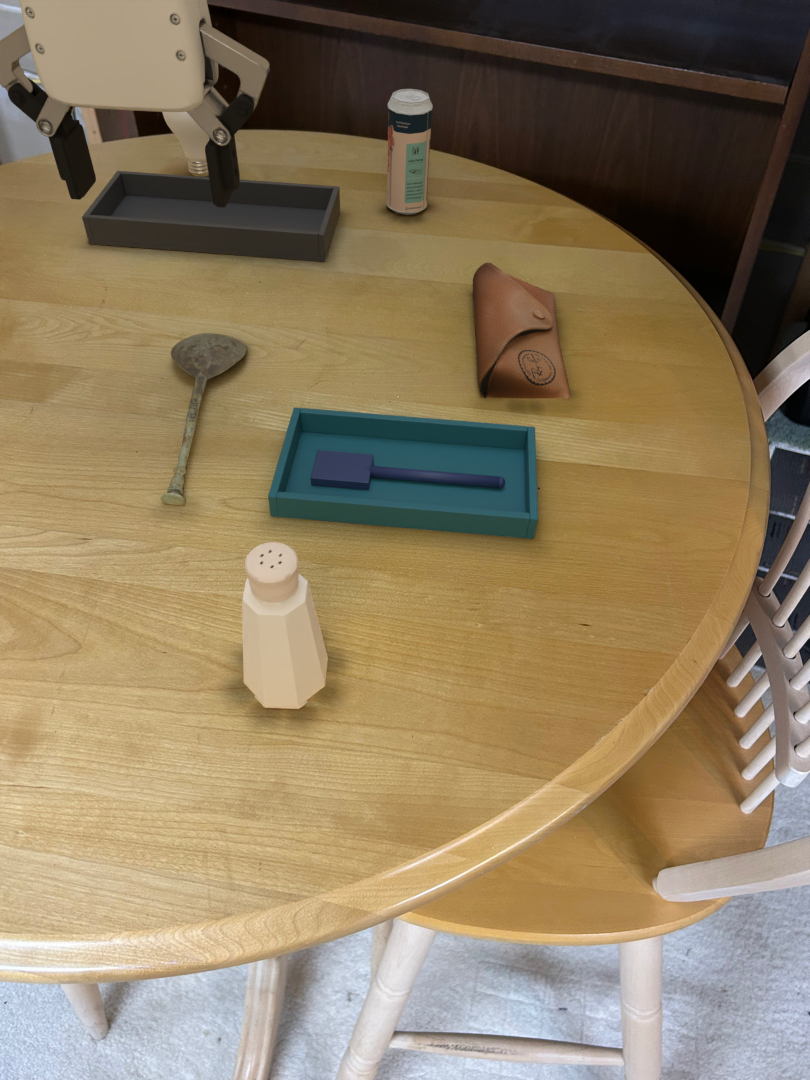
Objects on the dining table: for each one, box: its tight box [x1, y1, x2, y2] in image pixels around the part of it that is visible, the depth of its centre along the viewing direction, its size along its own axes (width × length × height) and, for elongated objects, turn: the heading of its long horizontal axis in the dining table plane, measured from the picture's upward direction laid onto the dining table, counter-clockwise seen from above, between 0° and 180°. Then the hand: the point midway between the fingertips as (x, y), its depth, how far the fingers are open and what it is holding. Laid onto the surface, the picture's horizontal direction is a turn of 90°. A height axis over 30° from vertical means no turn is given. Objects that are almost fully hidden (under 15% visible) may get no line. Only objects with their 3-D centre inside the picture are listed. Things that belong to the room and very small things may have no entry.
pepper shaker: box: [241, 541, 329, 710], centre depth 46 cm, size 5×5×11 cm
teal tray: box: [267, 406, 539, 540], centre depth 61 cm, size 19×10×2 cm, turn 85°
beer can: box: [385, 88, 434, 216], centre depth 89 cm, size 5×5×12 cm
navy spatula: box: [311, 450, 505, 490], centre depth 61 cm, size 15×3×1 cm, turn 85°
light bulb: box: [161, 112, 209, 177], centre depth 92 cm, size 7×7×11 cm
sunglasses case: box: [472, 262, 571, 400], centre depth 74 cm, size 18×7×7 cm
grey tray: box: [81, 170, 341, 262], centre depth 87 cm, size 25×11×3 cm, turn 85°
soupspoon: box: [160, 332, 248, 506], centre depth 66 cm, size 22×3×7 cm
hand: (154, 194), depth 54 cm, fingers open, 9 cm apart
